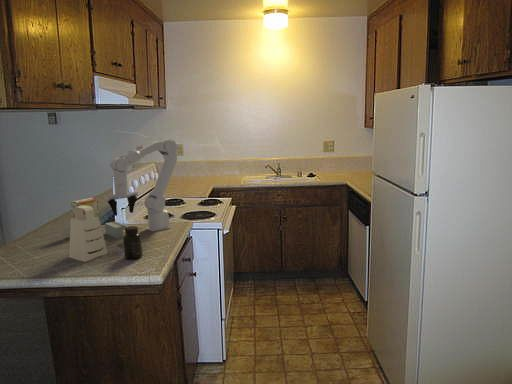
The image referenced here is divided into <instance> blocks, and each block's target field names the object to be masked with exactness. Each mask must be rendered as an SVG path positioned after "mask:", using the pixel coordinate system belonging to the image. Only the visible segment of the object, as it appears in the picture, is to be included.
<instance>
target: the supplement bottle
mask: <svg viewBox="0 0 512 384" xmlns="http://www.w3.org/2000/svg"><path fill="white" fill-rule="evenodd" d="M138 231H139V227H138V226H136V225H132V226H130V225H129V226H126V228H125V233H126V234H125V235H124V236H123V244H124V247H123V252H124V258H125V260H129V261H132V260H137V259H141V258H142V257H143V244H142V243H143V242H141V237H142V235H141V233H140V234H139V233H138Z"/></svg>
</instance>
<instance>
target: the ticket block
mask: <svg viewBox="0 0 512 384" xmlns="http://www.w3.org/2000/svg"><path fill="white" fill-rule="evenodd" d="M126 227H127V225H125V224H123V223H120V222H118V221H110V222H105V223H104V228H105V229H104V230H105V234H107V235H110V236H112V237H114V238H116V239H118V238H123V230H125V228H126Z"/></svg>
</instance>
